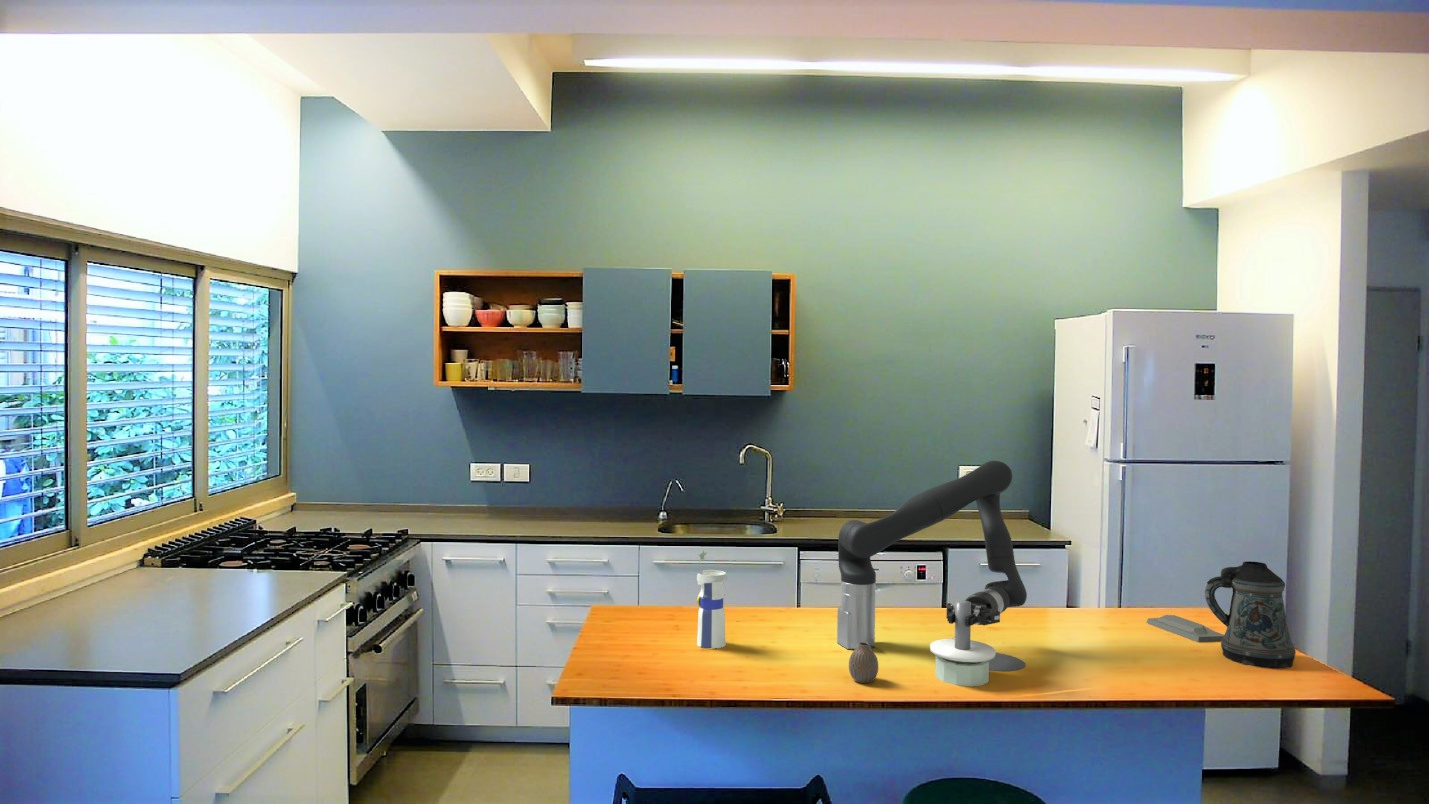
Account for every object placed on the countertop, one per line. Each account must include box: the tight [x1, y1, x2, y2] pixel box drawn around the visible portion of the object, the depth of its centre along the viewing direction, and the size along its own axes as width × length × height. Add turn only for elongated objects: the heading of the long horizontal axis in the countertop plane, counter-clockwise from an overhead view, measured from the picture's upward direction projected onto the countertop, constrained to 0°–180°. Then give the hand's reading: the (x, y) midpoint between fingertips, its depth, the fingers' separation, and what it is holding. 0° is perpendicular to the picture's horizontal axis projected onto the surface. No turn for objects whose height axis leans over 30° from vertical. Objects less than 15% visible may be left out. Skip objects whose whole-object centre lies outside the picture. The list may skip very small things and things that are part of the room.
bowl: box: [935, 655, 990, 687], centre depth 207 cm, size 12×12×5 cm
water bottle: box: [696, 549, 728, 650], centre depth 231 cm, size 8×8×25 cm
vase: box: [848, 642, 879, 684], centre depth 205 cm, size 7×7×9 cm
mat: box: [988, 652, 1026, 673], centre depth 219 cm, size 16×16×1 cm
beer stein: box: [1204, 561, 1297, 670], centre depth 225 cm, size 16×19×25 cm
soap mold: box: [1146, 614, 1225, 643], centre depth 251 cm, size 10×20×4 cm, turn 14°
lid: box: [929, 599, 996, 662], centre depth 207 cm, size 15×15×12 cm
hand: (958, 620), depth 204 cm, fingers closed on lid, 3 cm apart
